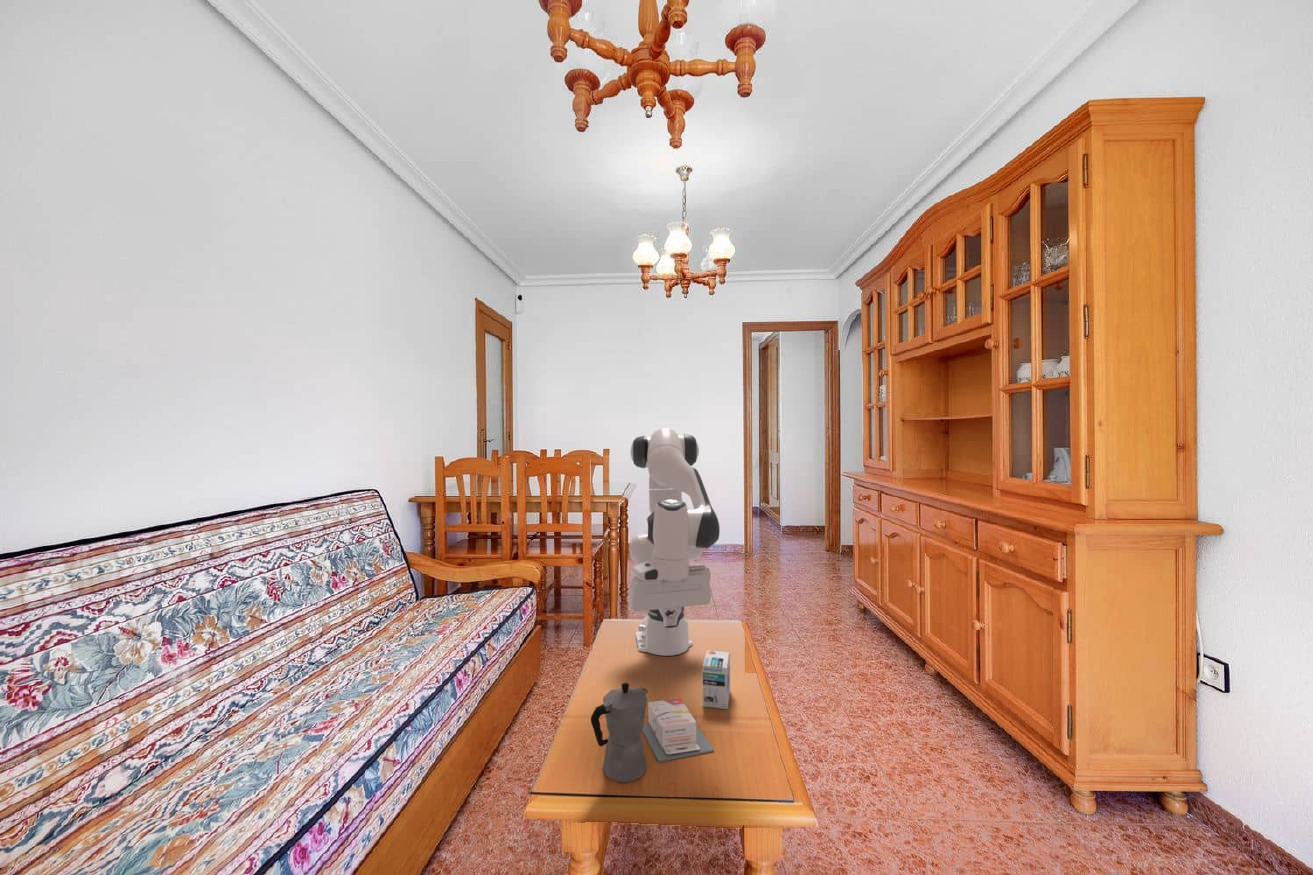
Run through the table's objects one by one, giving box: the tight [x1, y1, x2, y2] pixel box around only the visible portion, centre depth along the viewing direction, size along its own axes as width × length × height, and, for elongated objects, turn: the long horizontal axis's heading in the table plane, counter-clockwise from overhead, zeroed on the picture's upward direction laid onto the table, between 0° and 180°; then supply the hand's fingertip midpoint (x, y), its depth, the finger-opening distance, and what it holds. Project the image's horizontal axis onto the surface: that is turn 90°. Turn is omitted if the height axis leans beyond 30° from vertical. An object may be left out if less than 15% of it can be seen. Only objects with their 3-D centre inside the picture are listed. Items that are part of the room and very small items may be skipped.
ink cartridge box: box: [647, 697, 700, 754], centre depth 120 cm, size 9×5×15 cm
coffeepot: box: [590, 682, 650, 784], centre depth 108 cm, size 15×9×18 cm, turn 134°
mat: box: [641, 723, 715, 763], centre depth 119 cm, size 14×13×1 cm
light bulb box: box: [702, 650, 731, 710], centre depth 139 cm, size 11×7×11 cm, turn 168°
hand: (670, 625), depth 124 cm, fingers closed
